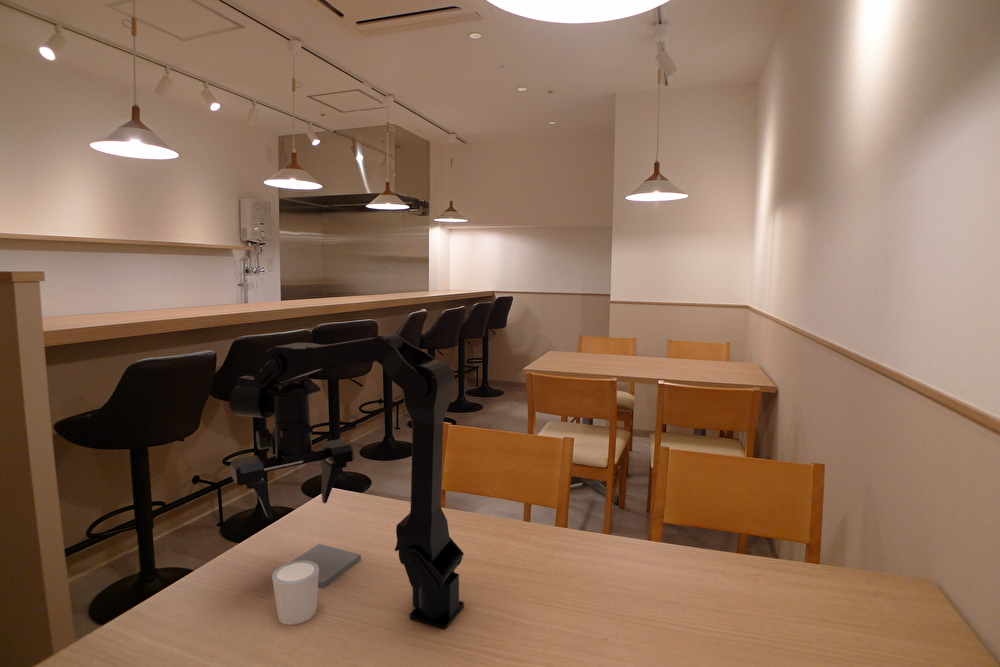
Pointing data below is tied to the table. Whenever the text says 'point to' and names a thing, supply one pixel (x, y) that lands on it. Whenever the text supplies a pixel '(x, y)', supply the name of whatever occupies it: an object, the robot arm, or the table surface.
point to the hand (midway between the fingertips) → (297, 509)
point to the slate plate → (329, 562)
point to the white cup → (296, 591)
